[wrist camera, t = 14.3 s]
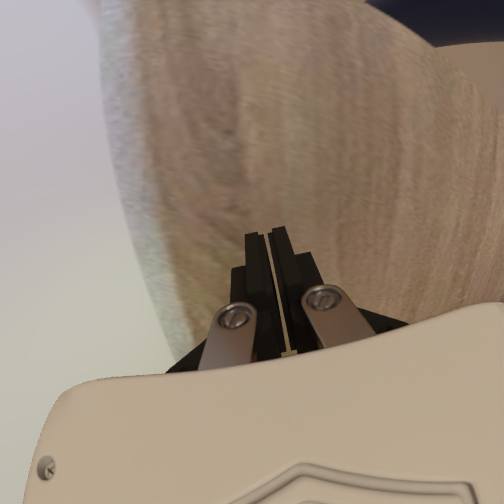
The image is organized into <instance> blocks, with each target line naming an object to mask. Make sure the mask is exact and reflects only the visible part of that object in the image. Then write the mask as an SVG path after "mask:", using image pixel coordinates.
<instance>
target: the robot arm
mask: <svg viewBox="0 0 504 504" xmlns="http://www.w3.org/2000/svg"><path fill="white" fill-rule="evenodd" d="M268 238H269V243H270V248H271V253H272V258H273V263H274V268H275V273H276V278H277V283H278V288H279V293H280V298H281V303H282V307H283V312H284V317H285V322H286V327H287V332H288V337H289V342H290V347H291V351H292V350H297V353H298V354H297V355H292V356H287V357H282V356H281V353H282V352H286V345H285V340H284V334H283V328H282V322H281V317H280V311H279V305H278V300H277V294H276V289H275V284H274V280H273V275H272V271H271V266H270V261H269V257H268V252H267V248H266V243H265V239H264V235H263V234H261V235H258V232H254V233H249V234H245V258H246V265H245V266H240V267H235V268H232V270H231V294H230V304H228V305H225V306H224V307H222V308H221V309H219V310H218V311H217V313H216V314H215V316H214V318H213V321H212V324H211V327H210V330H209V334H208V337H207V339H206V340H204V341H203V342H202V343H201V344H200V345H198V346H197V347H196V348H195V349H193V350H192V351H191V352H190V353H189V354H187V355H186V356H185V357H184V358H182V359H181V360H180V361H179V362H177V363H176V364H175V365H174V366H172V367H171V368H170V369H169V370H168V371H167V372H166V373H165V374H153V375H136V376H123V377H110V378H102V379H97V380H93V381H88V382H85V383H82V384H79V385H77V386H74V387H72V388H70V389H68V390H67V391H65V392H64V393H62V394H61V395H60V396H59V398H58V399H57V400H56V402H55V404H54V405H53V407H52V409H51V411H50V413H49V415H48V417H47V420H46V422H45V424H44V427H43V429H42V432H41V434H40V438H39V440H38V443H37V446H36V449H35V452H34V456H33V459H32V463H31V467H30V471H29V475H28V480H27V484H26V489H25V493H24V499H23V504H504V303H502V302H484V303H478V304H472V305H468V306H464V307H460V308H457V309H454V310H451V311H448V312H445V313H442V314H439V315H436V316H433V317H430V318H427V319H425V320H422V321H419V322H416V323H413V324H408V323H406V322H403V321H400V320H396V319H393V318H390V317H387V316H383V315H380V314H377V313H374V312H370V311H367V310H364V309H361V308H358V307H356V306H355V305H354V303H353V302H352V301H351V299H350V298H349V297H348V296H347V294H346V293H345V292H344V291H343V290H342V289H341V288H340V287H337V286H335V285H330V284H324V283H323V280H322V278H321V275H320V273H319V271H318V269H317V266H316V264H315V262H314V259H313V257H312V255H311V253H310V252H306V253H302V254H297V255H295V254H294V251H293V249H292V246H291V243H290V240H289V237H288V234H287V231H286V228H285V226H282V227H278V228H273V229H272V232H271V233H268Z"/></svg>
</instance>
